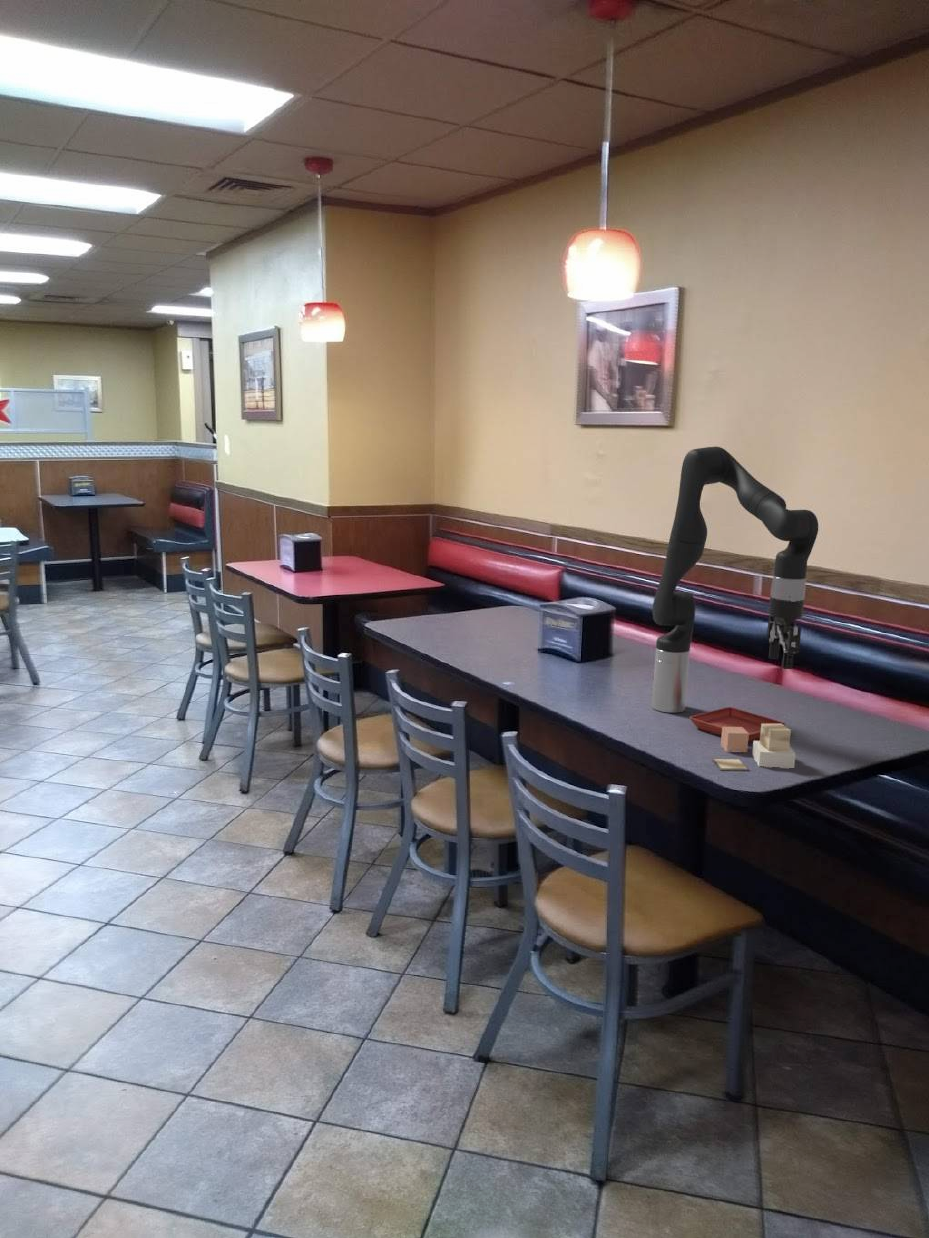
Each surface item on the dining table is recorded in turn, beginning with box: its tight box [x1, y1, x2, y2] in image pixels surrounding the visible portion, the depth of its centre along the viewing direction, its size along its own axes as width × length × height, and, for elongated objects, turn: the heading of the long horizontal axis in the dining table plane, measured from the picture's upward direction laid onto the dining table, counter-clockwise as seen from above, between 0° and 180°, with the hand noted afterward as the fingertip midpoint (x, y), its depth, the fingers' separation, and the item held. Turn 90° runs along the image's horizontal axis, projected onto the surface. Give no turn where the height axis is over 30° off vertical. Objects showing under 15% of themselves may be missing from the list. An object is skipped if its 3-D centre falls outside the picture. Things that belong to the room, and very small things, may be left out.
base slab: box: [751, 740, 796, 769], centre depth 219 cm, size 8×8×4 cm
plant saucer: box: [689, 706, 787, 742], centre depth 242 cm, size 18×18×3 cm
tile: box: [711, 758, 750, 772], centre depth 216 cm, size 7×7×1 cm
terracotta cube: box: [720, 727, 749, 753], centre depth 227 cm, size 5×5×5 cm
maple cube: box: [759, 724, 792, 751], centre depth 218 cm, size 5×5×5 cm
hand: (780, 663), depth 217 cm, fingers open, 8 cm apart
